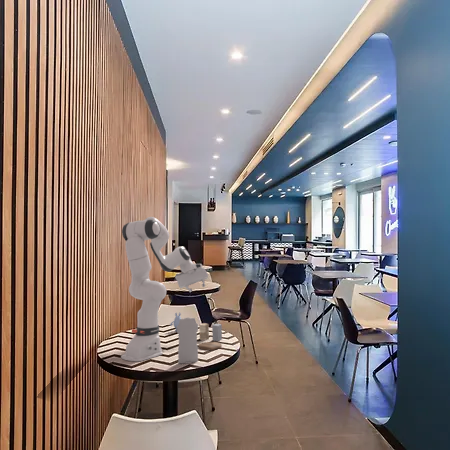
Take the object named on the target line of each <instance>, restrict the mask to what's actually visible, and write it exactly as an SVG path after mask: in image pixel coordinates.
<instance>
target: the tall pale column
mask: <svg viewBox="0 0 450 450" xmlns="http://www.w3.org/2000/svg"><path fill="white" fill-rule="evenodd" d="M198 331H199V323H197V321H196V318H195V317H184V318H181V319H180V321H179V325H178V326H177V331H176V333H177V336H178V349H177V354H178V358H177V359H178V361H177V362H178V364H181V365H182V364H191V363H197V362H199V357H198V356H199V348H198V344H197V343H198V339H197V338H198Z"/></svg>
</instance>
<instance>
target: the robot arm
mask: <svg viewBox="0 0 450 450" xmlns="http://www.w3.org/2000/svg"><path fill="white" fill-rule="evenodd" d="M121 234H122V237H123V239H124V241H125V252H126V258H127V261H128V264H129V269H130V272H131V282H130V284H129V287H128V293H129V295H130V296H131V297H133V298H134V299H137V300H141V301H142V302H141V303H142V304H141V307H140V309H139V310H138V311H137V316H136V317H137V326H136V328H132V329H131V333H132V334H135V335H134V336H133V337H132V338H131V340H130V341H129V342H128V344H126V347H125V353H123V354H122V355H121V356H120V358H121V359H122V360H125V361H129V362H143V361H145V360H149V359H153V358H155V357H159V356H161V355H163V350H162V345H161V338H160V335H159V333H160V325H159V310H160V306H161V303H162V301H163V300H164V299H165V298H166V297H167V296H166V295H167V286H165V284H164V283H162V282H160V281H157V280H151V279H150V272H151V270H152V269H153V268H152V263H151V260H150V256H149V252H148V249H147V246H146V244H145V243H146V242H145V241H148V240H150V243H149V245H150V246H149V247H150V249H151V251H152V253H153V255H154V257H155V258H156V259H157V261H158V263H159V265H160V267H161V270H163V271H164V272H166V273H167V272H168V273H170V272H171V271H173V270H175V269H176V268H177V267H179V268H180V271H181V272H179V273H176V274H175V277H174V279H175V281H177V285H178V288H179V289H183V288H185V289H186V290H188V292H189V293H191V292H193V289H192V288H190V287H189V286H191V285H194V284H196V283H199V282H202V284H201V286H202V288H205V287H206V284H205V280H207V279H208V277H209V274H208V272H207V270H206V268H205V267H203V264H202V263H194V262H193V261H192V259H191V255H190V253H189V251H188V250H187V249H186V247H185V246H177V247H175V248H174V250H173V251H172V252H170V253H168V254H166V255H163V253H162V251H161V250H162V249H163V248H164V246H166V245H167V243H168V242H169V239H170V232H169V231H168V228H167V227H166V226H165V224H163V223H162V222H161V221H160V220H159V219H157V218H156V217H154V216H148V217H146V218H145V219H144V220H135V221H130V222H127V223H125V224H124V225H123V227H122V229H121Z"/></svg>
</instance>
